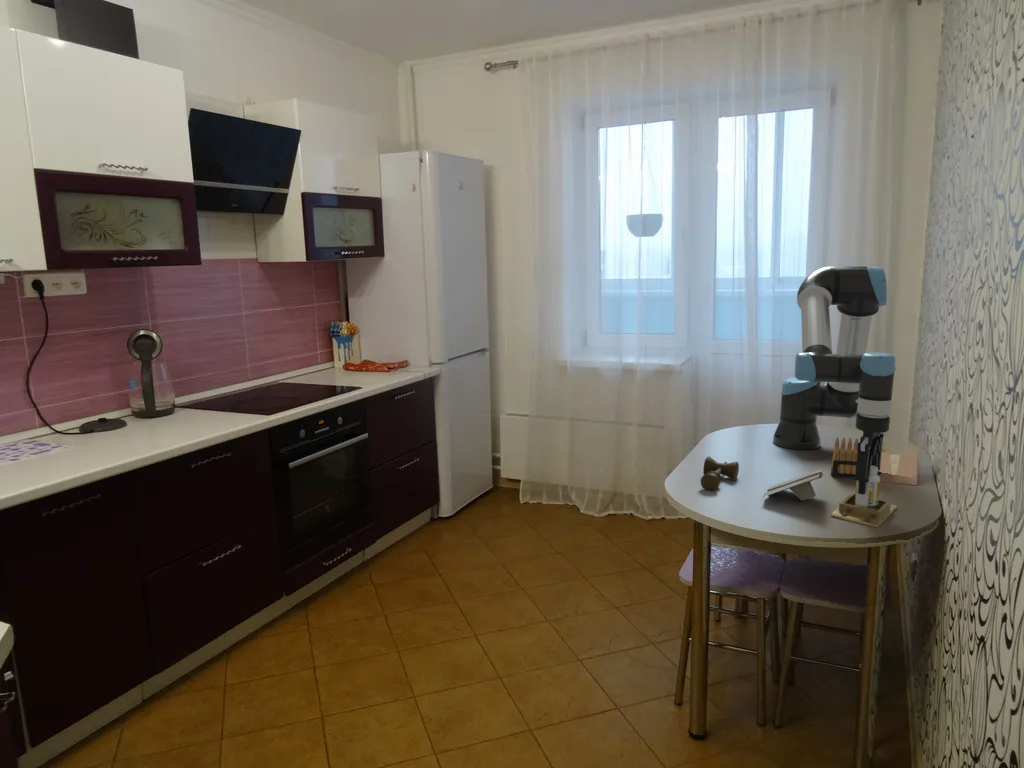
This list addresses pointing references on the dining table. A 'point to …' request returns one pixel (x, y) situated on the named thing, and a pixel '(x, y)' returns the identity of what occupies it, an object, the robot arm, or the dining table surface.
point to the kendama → (717, 473)
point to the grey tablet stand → (798, 486)
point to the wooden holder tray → (864, 511)
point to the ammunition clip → (841, 461)
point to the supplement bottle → (872, 487)
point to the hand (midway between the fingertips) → (865, 501)
